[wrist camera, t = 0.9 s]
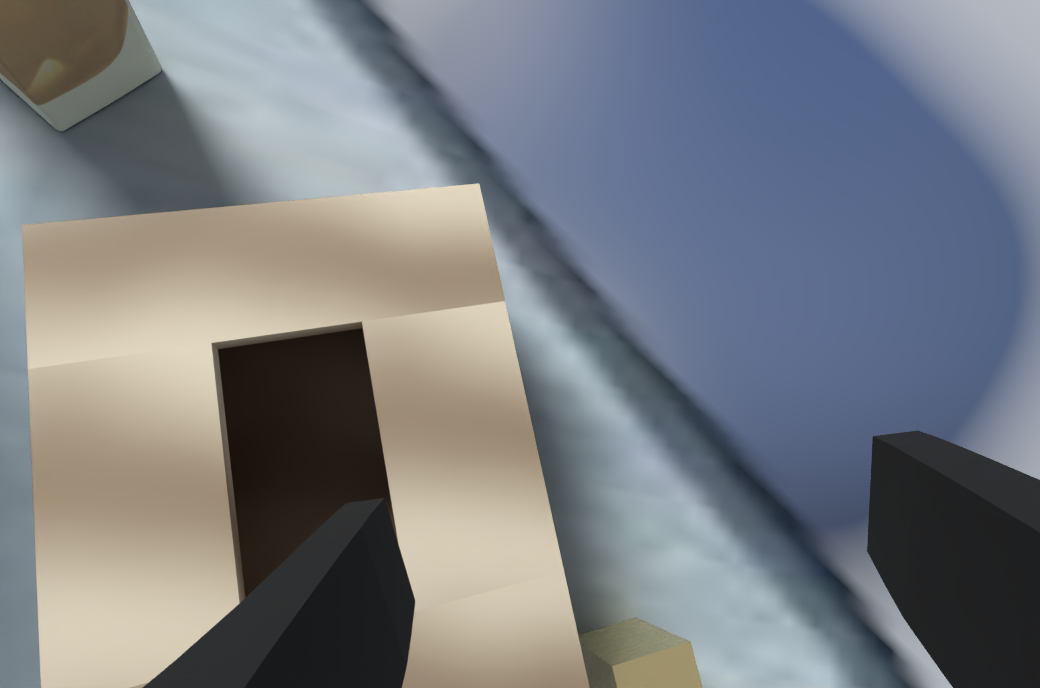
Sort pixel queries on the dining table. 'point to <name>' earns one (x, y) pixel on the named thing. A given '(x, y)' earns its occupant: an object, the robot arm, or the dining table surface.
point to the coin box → (284, 430)
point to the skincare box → (72, 55)
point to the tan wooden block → (638, 657)
